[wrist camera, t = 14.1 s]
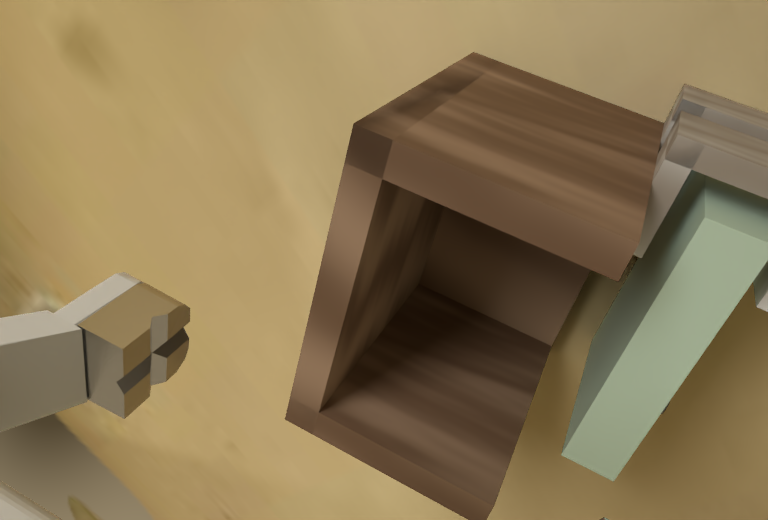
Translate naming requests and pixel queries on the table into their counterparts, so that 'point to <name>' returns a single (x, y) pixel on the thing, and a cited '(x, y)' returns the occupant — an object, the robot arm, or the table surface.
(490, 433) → the cabinet
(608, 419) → the door
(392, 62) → the table surface
